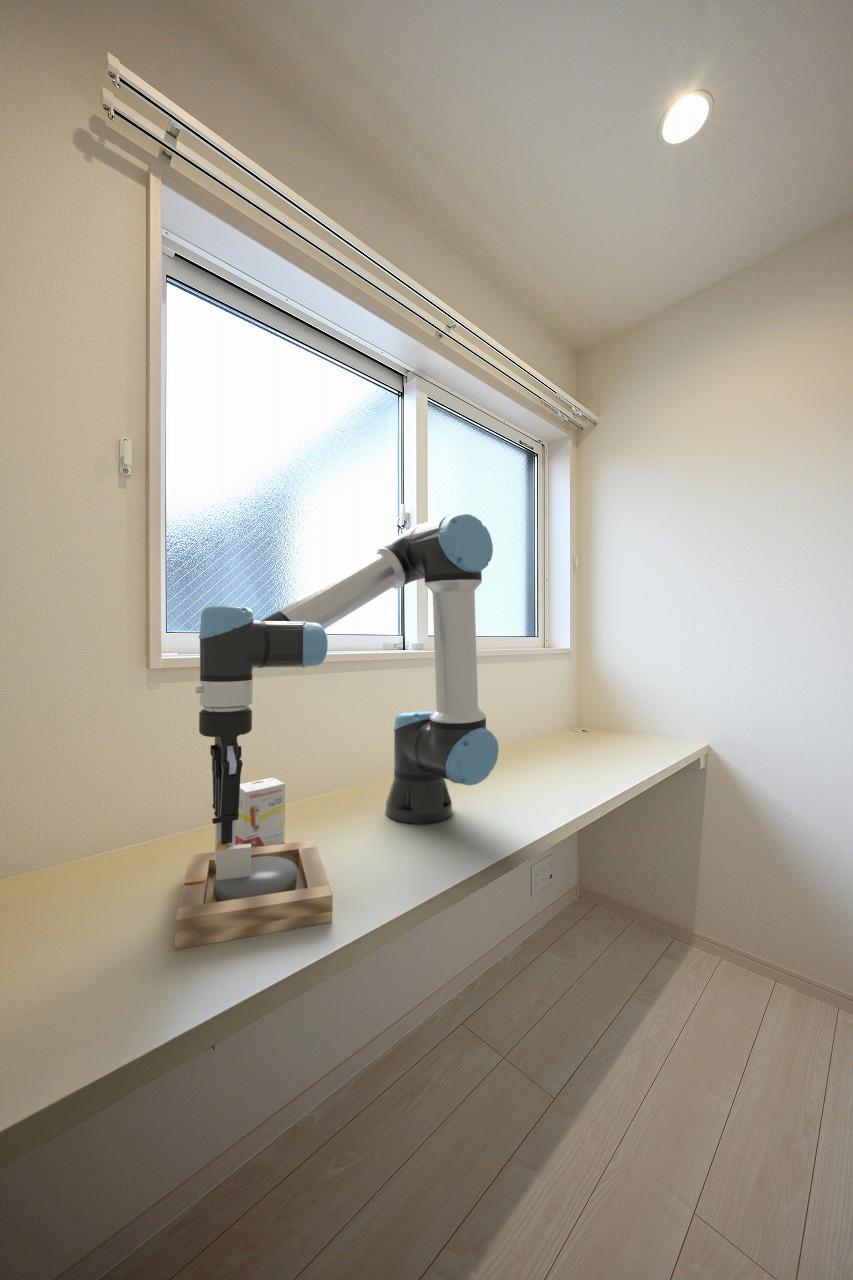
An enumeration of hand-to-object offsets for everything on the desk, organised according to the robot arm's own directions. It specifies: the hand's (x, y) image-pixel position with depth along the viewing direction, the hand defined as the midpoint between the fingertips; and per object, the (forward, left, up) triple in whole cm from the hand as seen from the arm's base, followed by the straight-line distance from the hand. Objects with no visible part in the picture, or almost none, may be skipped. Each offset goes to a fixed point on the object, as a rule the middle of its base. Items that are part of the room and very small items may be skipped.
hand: (224, 861), depth 77 cm
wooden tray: (-4, +2, -5) cm, 7 cm away
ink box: (-6, -18, -6) cm, 20 cm away
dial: (-4, +2, -4) cm, 6 cm away
